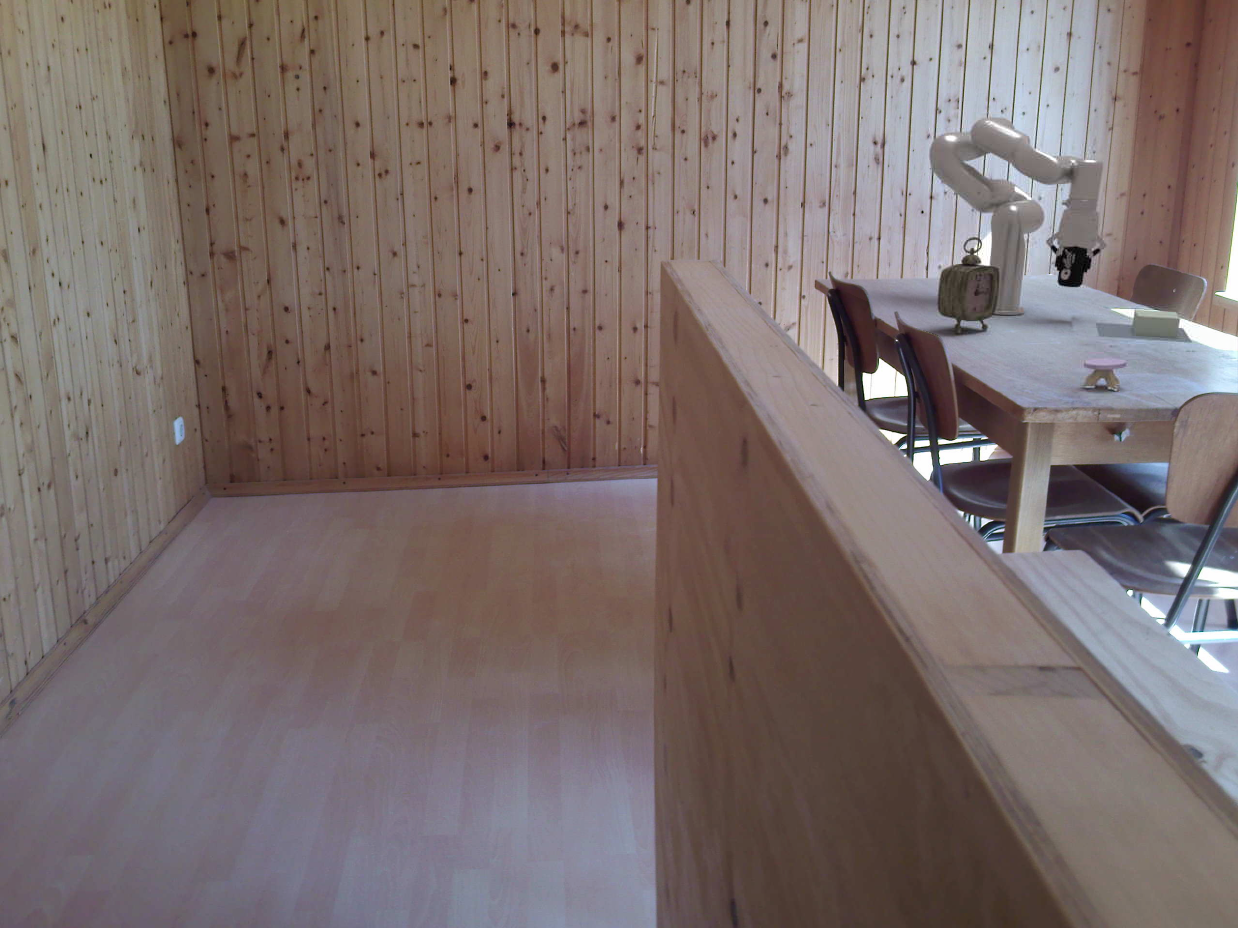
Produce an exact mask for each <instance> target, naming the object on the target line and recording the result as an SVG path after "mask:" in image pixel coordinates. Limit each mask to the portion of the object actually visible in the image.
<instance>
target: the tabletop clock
mask: <svg viewBox="0 0 1238 928" xmlns="http://www.w3.org/2000/svg"><path fill="white" fill-rule="evenodd" d="M970 241H978V242H979V244H980V245H979V247H978V248H977V249H976V250H975V247H971V248H970V250H967V248H966V246H967V244H968V243H969V242H970ZM982 247H983V242H982V240H981V239H980V238H979V237H975V236H973V237H969V238H968V239H966V241H965V242H964V244H963V251H964V252H965V253H966V254H967V255H964V256H963V257H962V259H961V260H960V263H957V264H953V265H950V266H948V267H946V268H944V269H942V270H941V273H940V276H939V281H938V282H939V284H938V290H937V293H938V294H937V310H938V312H939V314H940V315H941V316H943V317H946V318H950V319H955V320H956V324H954V329H955V330H954V332H955V334H956V335H960V334H961V333H962V329H961V328H962V327H961V322H962V321H966V322H980V324H981V329H982V330H983V331H987V330H988V328H989V327H988V324H986V323H984V321H985V320H987V319H990V318H991V317H993V316H994V315H995V314H994V312H995V309H996V305H997V299H998V293H999V269H998V268H996V267H993V266H990V265H985V264H982V259H981V258H980V257H979V256H978V255H977V253H978V252H979V251H980V250H981V249H982Z"/></svg>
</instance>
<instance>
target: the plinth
mask: <svg viewBox="0 0 1238 928" xmlns="http://www.w3.org/2000/svg"><path fill="white" fill-rule="evenodd" d="M1180 320H1181V318H1180V317H1179V314H1178V313H1177V312H1176V311H1159V310H1145V309H1134V313H1133V320H1132V325H1133V326H1132V329H1133V331H1134V334H1135V335H1142V336H1157V337H1173V338H1177V335H1178V328H1180V322H1181V321H1180Z"/></svg>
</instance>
